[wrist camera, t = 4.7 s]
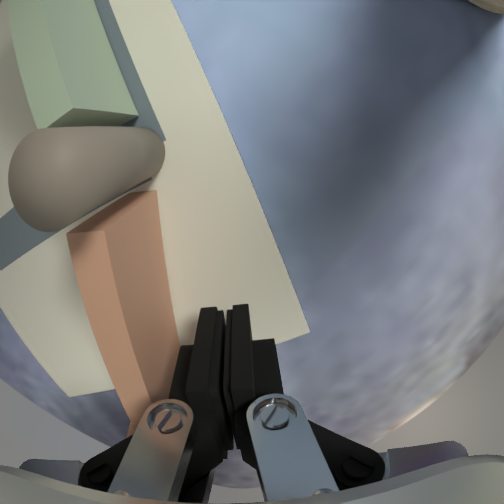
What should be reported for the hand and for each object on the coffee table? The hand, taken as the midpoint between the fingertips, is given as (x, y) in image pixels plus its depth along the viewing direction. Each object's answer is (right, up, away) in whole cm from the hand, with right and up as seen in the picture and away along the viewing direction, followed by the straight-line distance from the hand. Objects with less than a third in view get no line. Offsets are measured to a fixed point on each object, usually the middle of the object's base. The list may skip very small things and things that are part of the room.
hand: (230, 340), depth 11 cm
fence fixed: (-5, +11, -3) cm, 13 cm away
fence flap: (-3, +2, 0) cm, 4 cm away
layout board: (-7, +6, 0) cm, 9 cm away
